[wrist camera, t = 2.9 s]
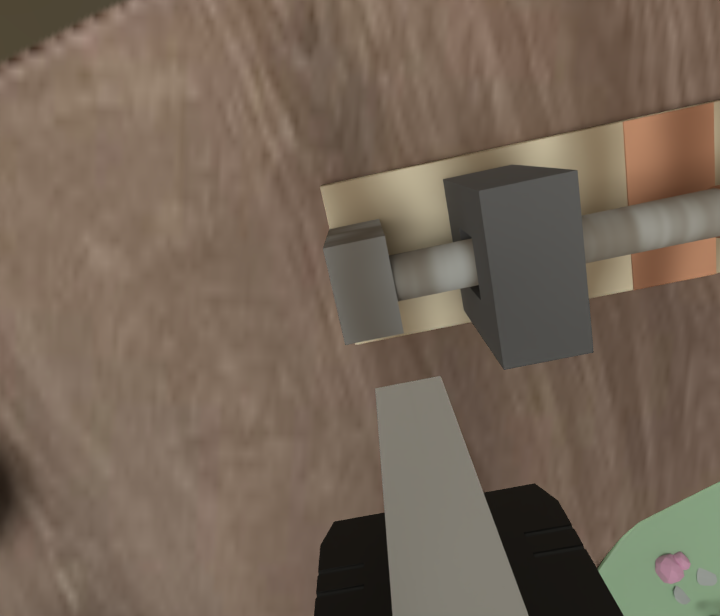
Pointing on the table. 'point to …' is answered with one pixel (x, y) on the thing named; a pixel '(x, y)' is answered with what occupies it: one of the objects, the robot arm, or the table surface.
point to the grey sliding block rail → (598, 209)
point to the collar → (524, 261)
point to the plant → (669, 561)
